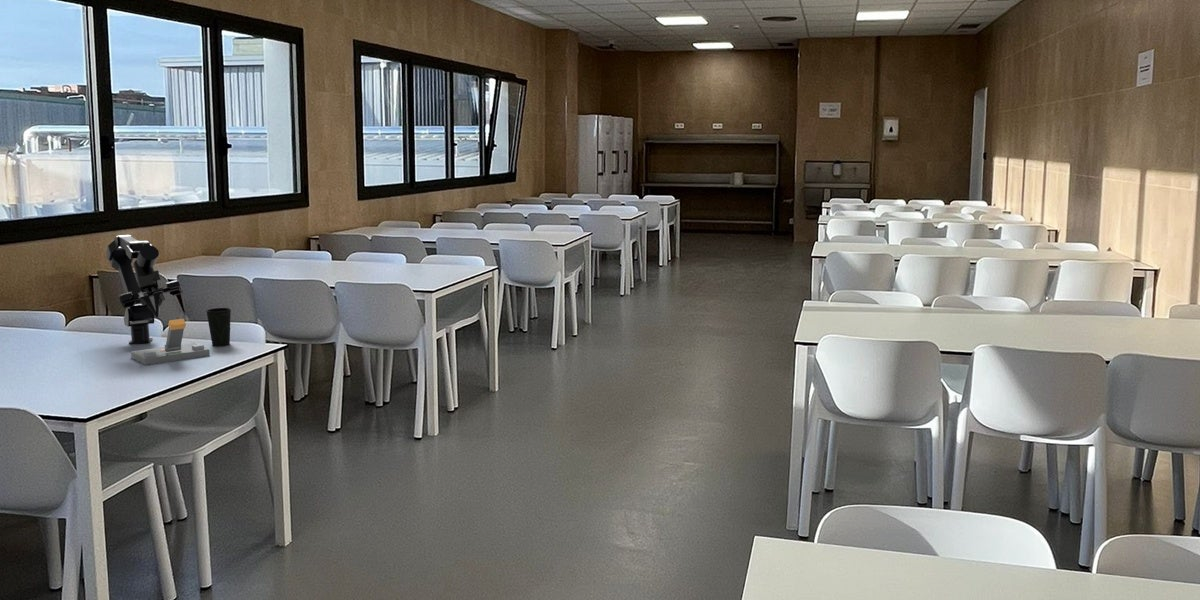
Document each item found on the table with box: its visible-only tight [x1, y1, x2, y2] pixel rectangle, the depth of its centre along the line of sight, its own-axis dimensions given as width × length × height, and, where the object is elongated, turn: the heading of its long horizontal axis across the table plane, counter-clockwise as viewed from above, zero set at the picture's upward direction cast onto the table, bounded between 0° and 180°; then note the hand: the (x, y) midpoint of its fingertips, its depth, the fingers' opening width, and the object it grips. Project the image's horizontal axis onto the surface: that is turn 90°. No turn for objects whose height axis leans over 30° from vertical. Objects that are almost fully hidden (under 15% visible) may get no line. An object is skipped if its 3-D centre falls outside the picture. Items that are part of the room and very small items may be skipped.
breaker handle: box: [164, 318, 187, 352], centre depth 328 cm, size 2×4×12 cm
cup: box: [206, 307, 232, 348], centre depth 349 cm, size 8×8×12 cm
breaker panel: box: [130, 342, 211, 366], centre depth 333 cm, size 14×20×3 cm
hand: (157, 316), depth 337 cm, fingers closed
